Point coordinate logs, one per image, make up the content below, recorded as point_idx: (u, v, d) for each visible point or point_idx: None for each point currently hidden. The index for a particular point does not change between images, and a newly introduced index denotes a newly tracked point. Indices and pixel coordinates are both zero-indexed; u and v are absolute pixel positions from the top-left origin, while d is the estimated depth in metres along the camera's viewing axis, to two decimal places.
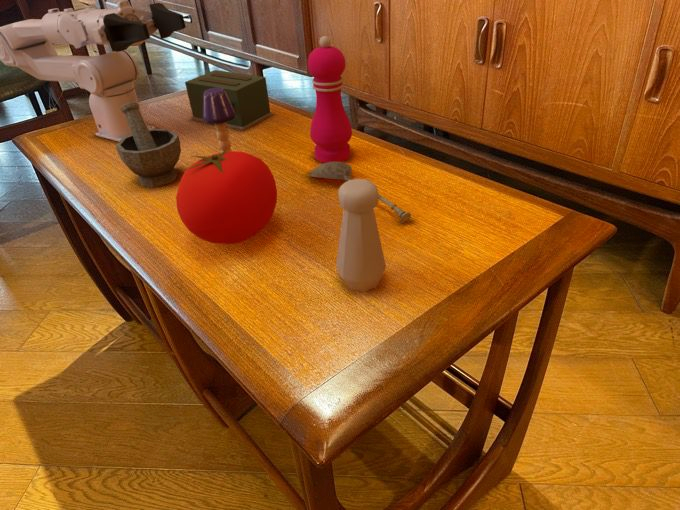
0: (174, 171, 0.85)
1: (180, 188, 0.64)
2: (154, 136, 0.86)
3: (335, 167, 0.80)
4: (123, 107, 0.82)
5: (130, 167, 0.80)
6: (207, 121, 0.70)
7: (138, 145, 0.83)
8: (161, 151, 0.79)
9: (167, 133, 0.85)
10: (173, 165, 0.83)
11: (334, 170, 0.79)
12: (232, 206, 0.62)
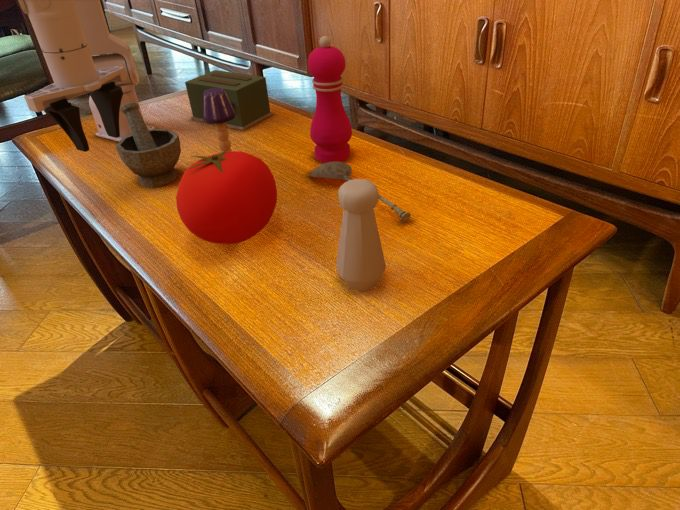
0: (174, 171, 0.85)
1: (180, 188, 0.64)
2: (154, 136, 0.86)
3: (335, 167, 0.80)
4: (123, 107, 0.82)
5: (130, 167, 0.80)
6: (207, 121, 0.70)
7: (138, 145, 0.83)
8: (161, 151, 0.79)
9: (167, 133, 0.85)
10: (173, 165, 0.83)
11: (334, 170, 0.79)
12: (232, 206, 0.62)
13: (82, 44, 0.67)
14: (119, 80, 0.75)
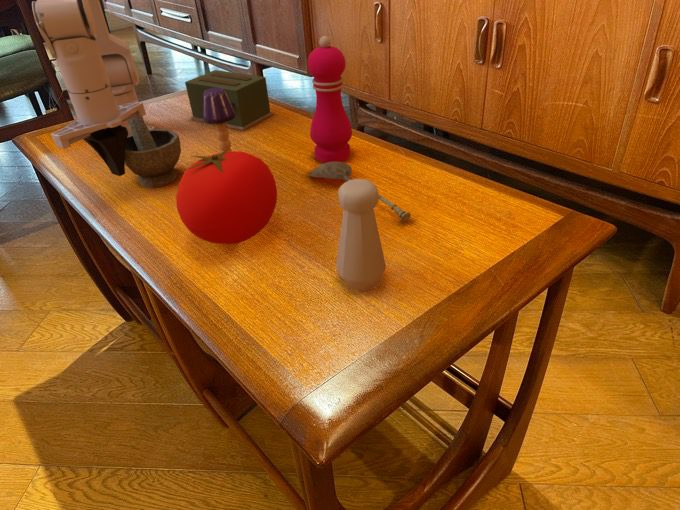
0: (174, 171, 0.86)
1: (180, 188, 0.64)
2: (154, 136, 0.86)
3: (335, 167, 0.80)
4: None
5: (130, 167, 0.80)
6: (207, 121, 0.70)
7: (138, 145, 0.83)
8: (161, 151, 0.79)
9: (167, 133, 0.85)
10: (173, 165, 0.83)
11: (334, 170, 0.79)
12: (232, 206, 0.62)
13: (106, 84, 0.71)
14: (138, 114, 0.79)
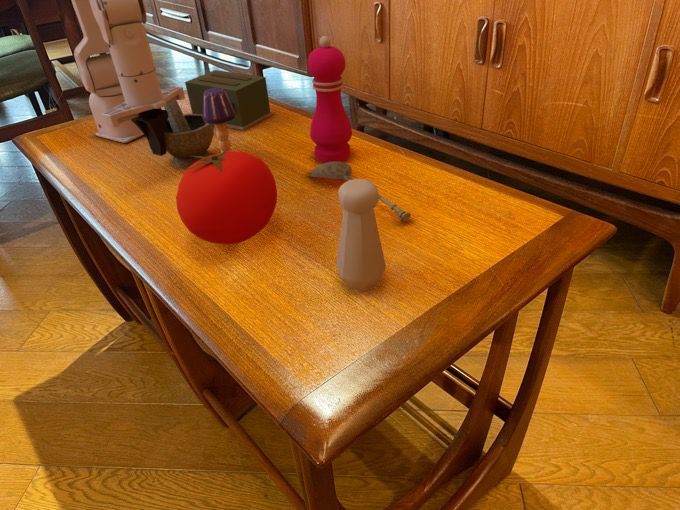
0: (207, 153, 0.91)
1: (180, 188, 0.64)
2: (188, 120, 0.91)
3: (335, 167, 0.80)
4: None
5: (168, 149, 0.86)
6: (207, 121, 0.70)
7: (174, 128, 0.88)
8: (198, 133, 0.84)
9: (200, 117, 0.90)
10: (207, 147, 0.88)
11: (334, 170, 0.79)
12: (232, 206, 0.62)
13: (154, 67, 0.77)
14: (178, 98, 0.85)
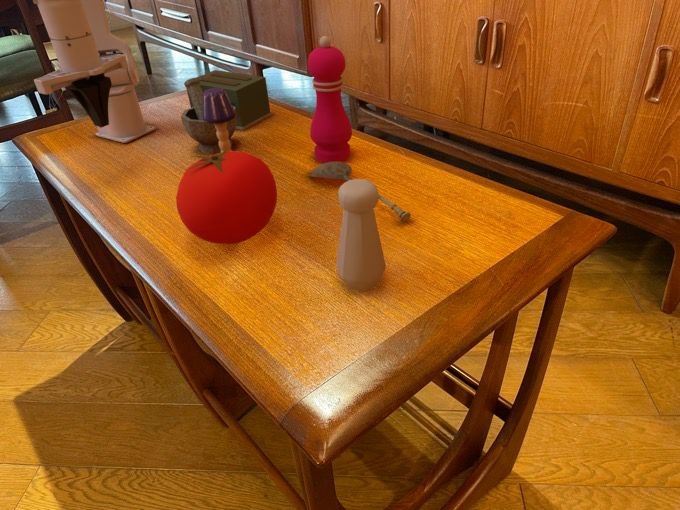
0: (230, 140, 0.95)
1: (180, 188, 0.64)
2: None
3: (335, 167, 0.80)
4: (187, 82, 0.91)
5: (194, 135, 0.90)
6: (207, 121, 0.70)
7: (200, 116, 0.92)
8: None
9: None
10: (231, 134, 0.92)
11: (334, 170, 0.79)
12: (232, 206, 0.62)
13: (86, 32, 0.73)
14: (120, 67, 0.81)
